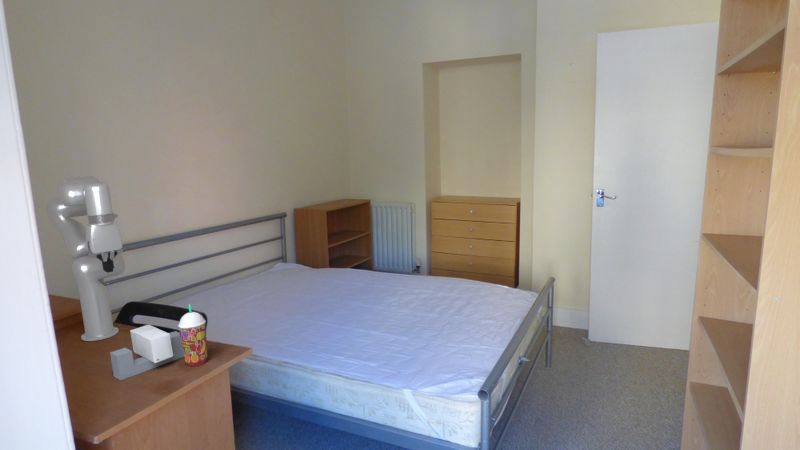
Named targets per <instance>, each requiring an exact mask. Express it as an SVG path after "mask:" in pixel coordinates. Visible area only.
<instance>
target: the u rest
mask: <svg viewBox="0 0 800 450" xmlns="http://www.w3.org/2000/svg"><path fill="white" fill-rule="evenodd" d="M168 333H169V334H170V339H171V345H172V352H173V356H172V357H170V358H167V359H165V360H162V361H160V362H157V363H154V362H152V361H150V360H148V359H146V358H144V357H142V356H141V357H138V358H136V359H134V356H133V350H131V349H128V348H127V347H122V348H120V349H116V350H112V351H110V353H109V355H110V361H111V368H112V372H113V374H112V375H113V377H114V378H116V379H117V380H118V381H124V380H126V379H128V378H131V377H133V376H137V375H139V374H142V373H144V372H147V371H149V370H152V369H153V370H154V369H155V368H158V367H160V366H163V365H165V364H168V363H170V362H174V361H176V360H179V359H182V358H185V357H184V352H183V347H182V342H181V337H180V332H179V331H176V330H174V331H171V332H168Z"/></svg>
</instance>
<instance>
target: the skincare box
mask: <svg viewBox="0 0 800 450" xmlns="http://www.w3.org/2000/svg"><path fill="white" fill-rule="evenodd" d="M129 332H130V339H131V344H132V349H133V350H132V351H133V353H135V354H137V355H139V356H141V357H144V358H146V359H148V360H150V361H152V362H154V363H157V362H160V361H162V360H165V359H167V358H170V357H172V356H173V352H172V345H171V339H170V334H169V333H170V332H166V331H164V330H162V329H159V328H157V327H155V326H153V325H152V324H151V325H150V324H145V325H143V326H140V327H137V328H134V329H130V330H129Z"/></svg>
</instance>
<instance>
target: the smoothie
mask: <svg viewBox="0 0 800 450" xmlns="http://www.w3.org/2000/svg"><path fill="white" fill-rule="evenodd" d="M191 304H192V303H188V312H186V313H185V314H184V315H182V316H181V318H180V319H179V323H178V324H177V327H178V332H179V333H180V337H181V342H182V347H183V352H184V357H183V358H184V361H185V363H186V364H187V366H189V367H190V366H191V367H196V366H200V365H203V364H205V363H206V361H207V359H208V345H207V344H208V342H207V340H208V339H207V328H206V327H207V324H206V323H207V321H206V319H205V318H204V317H203V315H202V314H201V313H199V312H196V311H192V305H191Z"/></svg>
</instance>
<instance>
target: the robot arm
mask: <svg viewBox="0 0 800 450" xmlns="http://www.w3.org/2000/svg"><path fill="white" fill-rule="evenodd" d="M56 194H57V197H55V198H52V199H50V200H48V201H47V203H46V205H45V212H46V215H47V217H48V219H49V221H50V223H51V226H53V227H54V229H55V230H57V232H58V233H59V234H60V236H61V237H62V239H63V242H64V244H65V246H66V248H67V251H68V254H69V255H70V257H71V258H72V259H74V260H73V262H72V264H71V271H72V274H73V278H74V280H75V283H76V287H77V291H78V297H79V302H80V308H81V315H82V320H83V326H84V333H83V334H82V335H81V336H80V337H81V340H82V341H85V342H95V341H101V340H105V339H109V338H112V337H114V336H115V335H117V334H118V333H119V332H120V331H119V328H118V327H116V326H114V322H113V315H112V310H111V301H110V296H109V290H108V288H107V287H106V286H105V285H104V284H103V283H102V282H100V281H99V280H102V279H106V278H111V277H116V276H119V275H122V274H123V273H124V272H125V271H126V261H125V260H124V256H123V255H122V253H123V252H124V249H123V240H122V235H121V231H120V229H119V225H118V223H117V221H115V219H118V218H119V217H118V216H119V215H118V214H117V213H114V210H113V204H112V199H111V192H110V187H109V185H108V183H106V182H105V183H104V182H103V181H100V180H99V179H98V177H96V176H93V175H91V176H90V175H87V176H76V177H66V178H64V179H62V180H60V181H59V182H58V183H57V185H56ZM82 216H83V217H84V216H87V220H88V221H87V222H88V224H86V225H84V224H82V223H81V222H79V221H77V220H75V219H74V218H75V217H77V218H78V217H82Z"/></svg>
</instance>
